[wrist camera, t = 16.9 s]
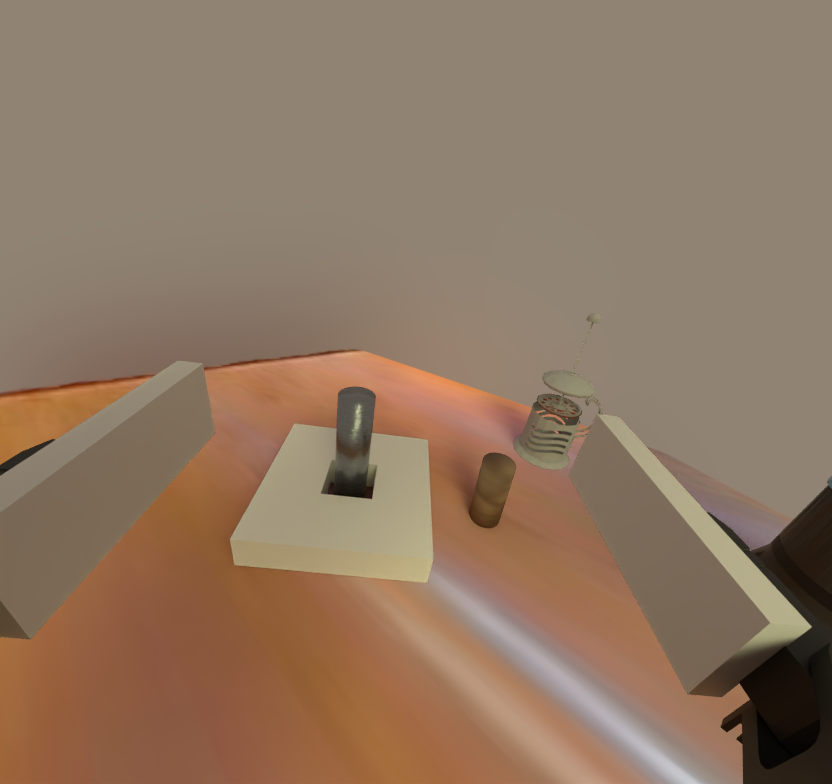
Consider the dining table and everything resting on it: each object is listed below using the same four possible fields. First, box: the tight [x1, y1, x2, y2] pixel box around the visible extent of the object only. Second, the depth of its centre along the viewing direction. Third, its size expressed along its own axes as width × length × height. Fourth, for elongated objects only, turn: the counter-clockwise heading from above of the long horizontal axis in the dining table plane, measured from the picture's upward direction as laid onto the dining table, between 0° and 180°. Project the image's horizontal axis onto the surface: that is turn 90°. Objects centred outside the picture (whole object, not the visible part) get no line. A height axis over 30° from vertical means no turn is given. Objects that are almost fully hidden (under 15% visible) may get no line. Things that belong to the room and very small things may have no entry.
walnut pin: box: [469, 453, 516, 528], centre depth 44 cm, size 4×4×9 cm
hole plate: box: [230, 424, 433, 583], centre depth 44 cm, size 20×20×4 cm
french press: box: [513, 313, 603, 470], centre depth 55 cm, size 10×12×25 cm
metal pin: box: [334, 387, 376, 498], centre depth 41 cm, size 4×4×16 cm
